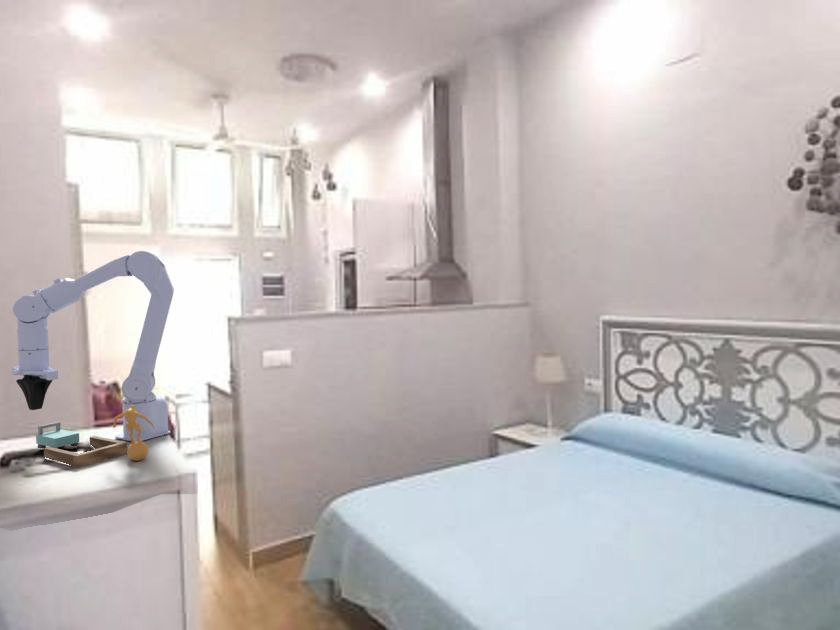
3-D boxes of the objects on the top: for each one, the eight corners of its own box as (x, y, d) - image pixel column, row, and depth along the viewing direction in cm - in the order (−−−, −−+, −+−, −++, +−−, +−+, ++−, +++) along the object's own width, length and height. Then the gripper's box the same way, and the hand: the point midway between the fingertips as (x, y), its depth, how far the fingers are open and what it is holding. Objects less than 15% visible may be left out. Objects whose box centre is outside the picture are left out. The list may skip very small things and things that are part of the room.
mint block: (60, 444, 131) (59, 421, 130) (79, 449, 128) (78, 425, 127) (36, 450, 126) (35, 426, 126) (55, 455, 123) (54, 430, 123)
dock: (95, 446, 130) (94, 435, 130) (127, 453, 124) (127, 442, 124) (44, 459, 120) (43, 448, 120) (77, 467, 115) (76, 456, 115)
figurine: (162, 457, 122) (160, 401, 121) (149, 466, 116) (147, 407, 115) (122, 457, 122) (121, 401, 121) (107, 466, 116) (105, 407, 115)
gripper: (-4, 349, 129) (-2, 409, 130) (33, 353, 122) (35, 416, 123) (29, 346, 135) (31, 403, 136) (66, 349, 129) (68, 409, 129)
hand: (35, 409), depth 130 cm, fingers closed
